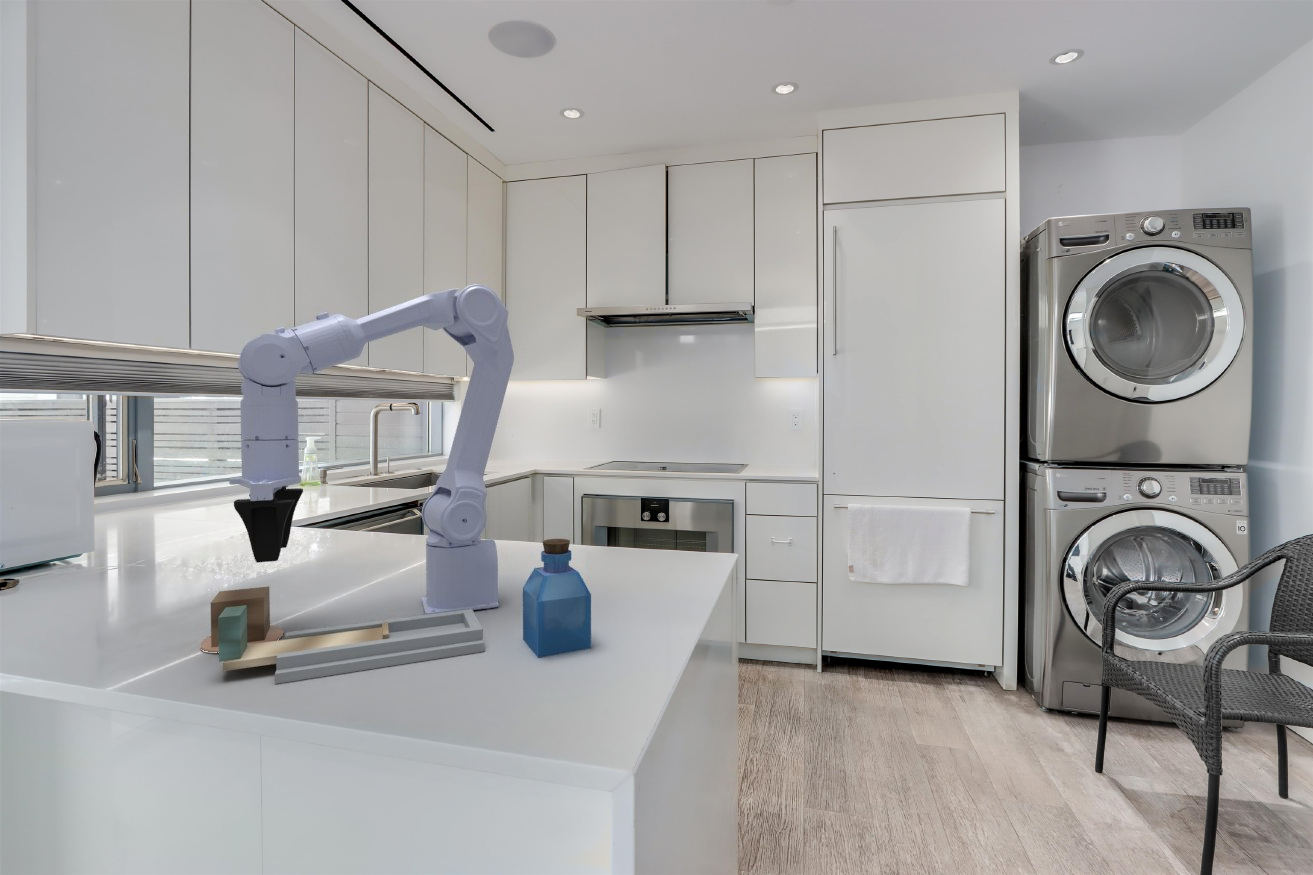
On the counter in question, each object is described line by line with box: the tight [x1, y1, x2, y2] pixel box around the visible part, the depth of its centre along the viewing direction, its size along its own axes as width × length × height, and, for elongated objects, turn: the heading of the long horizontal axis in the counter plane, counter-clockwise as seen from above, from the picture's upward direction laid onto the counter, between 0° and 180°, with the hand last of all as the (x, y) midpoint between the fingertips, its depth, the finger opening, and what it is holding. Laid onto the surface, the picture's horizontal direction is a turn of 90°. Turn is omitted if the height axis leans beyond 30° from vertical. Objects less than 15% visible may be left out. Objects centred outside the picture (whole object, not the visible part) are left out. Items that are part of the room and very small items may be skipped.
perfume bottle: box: [522, 538, 592, 659], centre depth 70 cm, size 6×6×12 cm
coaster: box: [200, 624, 285, 653], centre depth 71 cm, size 8×8×1 cm
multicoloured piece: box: [218, 605, 389, 672], centre depth 65 cm, size 15×5×5 cm, turn 115°
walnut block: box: [210, 586, 271, 647], centre depth 71 cm, size 5×5×5 cm
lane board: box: [274, 609, 485, 685], centre depth 68 cm, size 20×10×2 cm, turn 115°
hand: (272, 554), depth 72 cm, fingers open, 7 cm apart
